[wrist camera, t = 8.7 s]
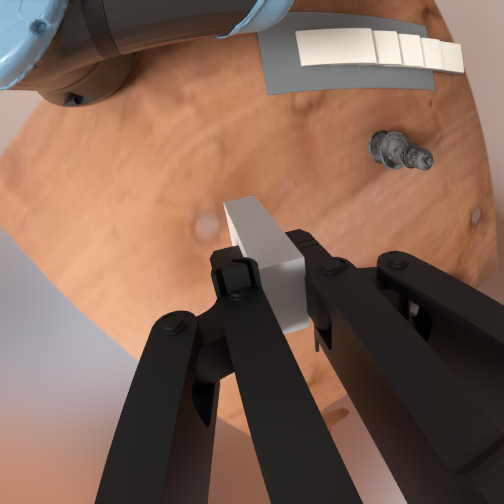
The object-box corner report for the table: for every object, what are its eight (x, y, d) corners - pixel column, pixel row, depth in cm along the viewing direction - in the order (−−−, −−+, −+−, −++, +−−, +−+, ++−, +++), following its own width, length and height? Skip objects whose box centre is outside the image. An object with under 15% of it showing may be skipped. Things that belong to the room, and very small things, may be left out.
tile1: (301, 65, 33) (376, 62, 31) (295, 31, 31) (370, 28, 29) (301, 66, 35) (374, 63, 33) (295, 33, 33) (368, 30, 30)
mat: (267, 95, 36) (268, 95, 36) (252, 14, 31) (253, 13, 30) (433, 90, 40) (435, 90, 39) (424, 26, 34) (425, 26, 34)
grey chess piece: (395, 128, 42) (449, 140, 31) (396, 163, 44) (447, 182, 34) (365, 129, 41) (418, 140, 30) (367, 166, 44) (417, 187, 33)
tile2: (332, 64, 34) (402, 64, 32) (326, 31, 32) (396, 31, 30) (331, 65, 35) (398, 65, 33) (325, 33, 33) (393, 33, 31)
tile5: (411, 67, 35) (464, 72, 33) (406, 37, 33) (460, 44, 31) (408, 67, 37) (459, 72, 35) (403, 39, 34) (456, 45, 32)
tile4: (385, 65, 35) (444, 69, 33) (380, 35, 33) (439, 39, 31) (382, 66, 36) (440, 69, 34) (377, 36, 34) (435, 41, 32)
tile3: (360, 64, 34) (424, 66, 32) (354, 32, 32) (419, 35, 30) (358, 65, 36) (420, 67, 34) (352, 34, 34) (415, 36, 31)
